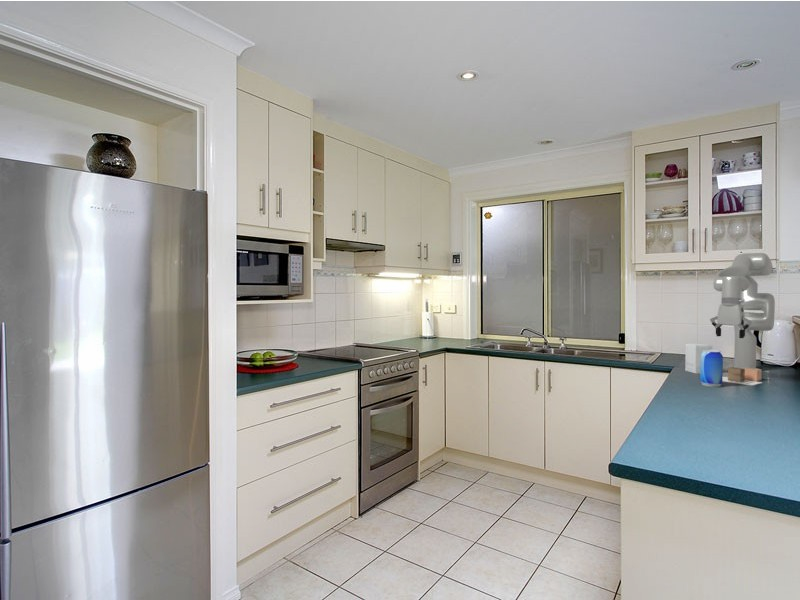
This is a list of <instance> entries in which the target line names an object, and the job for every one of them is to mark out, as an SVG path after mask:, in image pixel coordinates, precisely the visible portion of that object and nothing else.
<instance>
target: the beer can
mask: <svg viewBox="0 0 800 600" xmlns="http://www.w3.org/2000/svg"><path fill="white" fill-rule="evenodd" d="M723 365H724V356H723V354H722V353H721V350H717V349H716V350H715V349H712V350H703V352H702V354H701V365H700V373H699V374H700V375H699V382H700V384H701V385H702V386H706V387H710V388H711V387H713V388H718V387H719V388H720V387H721V386H722V385H723V381H722V377H723V372H724V371H723V370H724V369H723V368H724V366H723Z"/></svg>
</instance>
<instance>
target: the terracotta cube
mask: <svg viewBox="0 0 800 600" xmlns="http://www.w3.org/2000/svg"><path fill="white" fill-rule="evenodd" d="M762 371H763V370H762V369H761V368H758V369H754V368H745V380H750V381H756V382H761V381H762V373H763V372H762Z"/></svg>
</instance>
